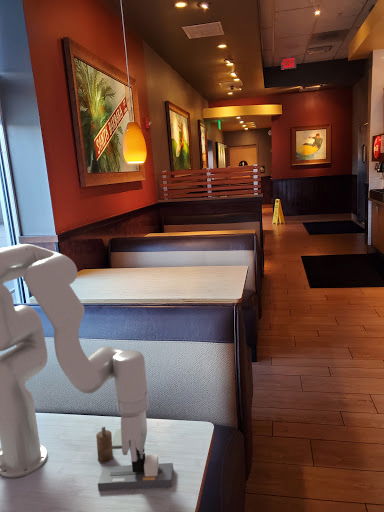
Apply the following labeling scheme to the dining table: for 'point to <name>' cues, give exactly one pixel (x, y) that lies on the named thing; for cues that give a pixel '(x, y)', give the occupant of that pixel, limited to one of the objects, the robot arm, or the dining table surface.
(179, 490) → the dining table surface
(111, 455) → the tool handle
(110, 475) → the switch board
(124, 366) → the robot arm
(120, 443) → the mat
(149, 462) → the switch tab
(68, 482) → the dining table surface
